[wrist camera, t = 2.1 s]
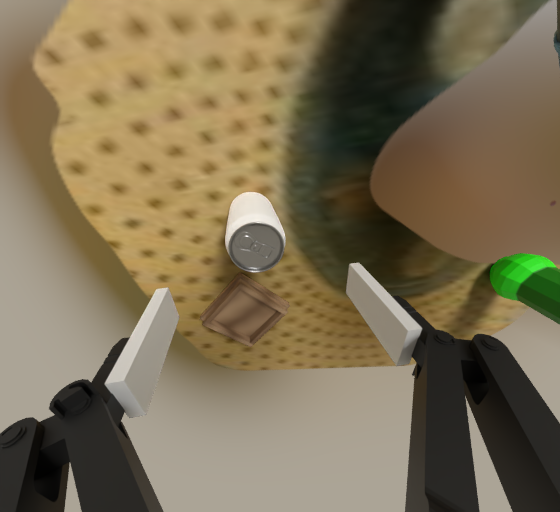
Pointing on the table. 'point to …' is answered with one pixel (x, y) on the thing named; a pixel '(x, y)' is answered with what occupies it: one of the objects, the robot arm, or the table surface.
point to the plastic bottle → (529, 282)
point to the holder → (244, 311)
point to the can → (254, 233)
